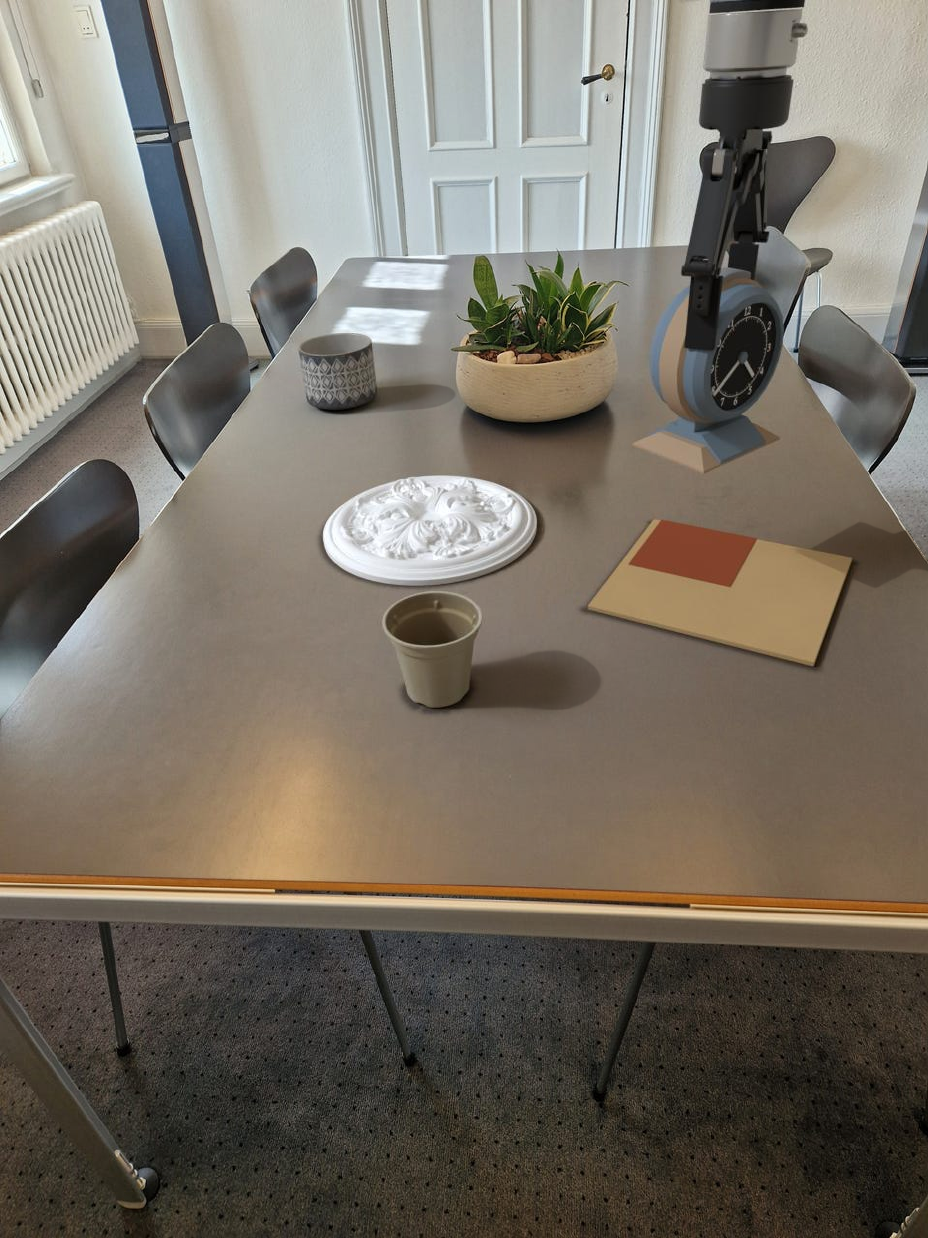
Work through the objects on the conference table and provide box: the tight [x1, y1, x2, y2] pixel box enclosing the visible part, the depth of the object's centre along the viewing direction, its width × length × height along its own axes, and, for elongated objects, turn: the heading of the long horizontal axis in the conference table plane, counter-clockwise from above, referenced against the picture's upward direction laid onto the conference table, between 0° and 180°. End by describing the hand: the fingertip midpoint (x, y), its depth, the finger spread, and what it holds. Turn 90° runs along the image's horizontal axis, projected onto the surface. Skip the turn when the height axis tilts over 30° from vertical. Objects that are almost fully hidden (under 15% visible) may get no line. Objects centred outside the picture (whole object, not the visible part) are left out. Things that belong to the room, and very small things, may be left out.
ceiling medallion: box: [322, 475, 538, 587], centre depth 111 cm, size 28×28×3 cm
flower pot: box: [381, 590, 483, 709], centre depth 82 cm, size 9×9×9 cm
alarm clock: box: [632, 266, 785, 475], centre depth 86 cm, size 14×10×18 cm
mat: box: [587, 518, 853, 667], centre depth 97 cm, size 24×22×1 cm
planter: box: [297, 332, 378, 411], centre depth 150 cm, size 13×13×10 cm
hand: (718, 328), depth 85 cm, fingers closed on alarm clock, 12 cm apart
